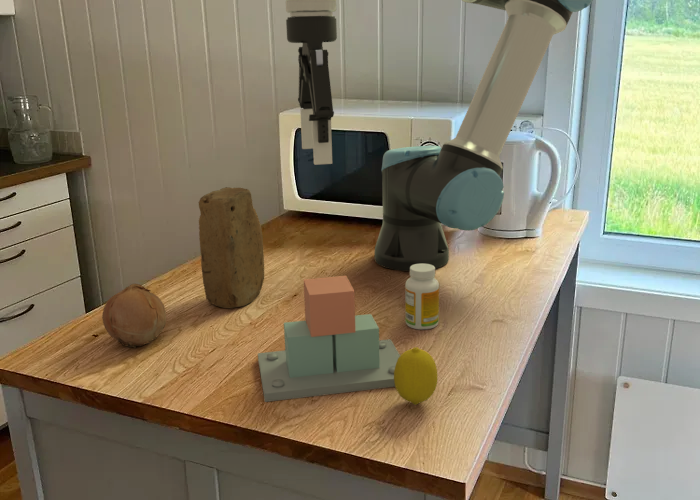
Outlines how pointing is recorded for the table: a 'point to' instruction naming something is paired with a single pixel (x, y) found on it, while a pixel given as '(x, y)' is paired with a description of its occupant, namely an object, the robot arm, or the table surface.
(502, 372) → the table surface
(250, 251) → the rough sandstone chunk
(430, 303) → the supplement bottle
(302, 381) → the build plate
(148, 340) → the onion
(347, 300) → the brick block
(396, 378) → the lemon
